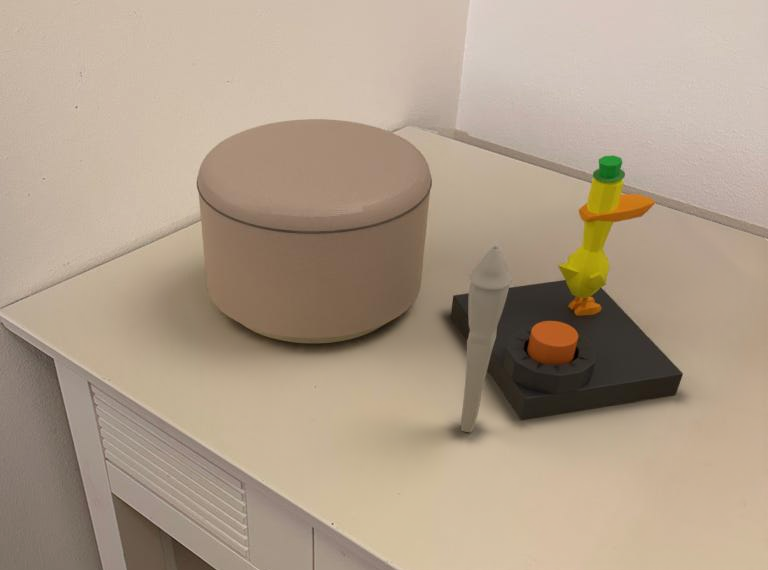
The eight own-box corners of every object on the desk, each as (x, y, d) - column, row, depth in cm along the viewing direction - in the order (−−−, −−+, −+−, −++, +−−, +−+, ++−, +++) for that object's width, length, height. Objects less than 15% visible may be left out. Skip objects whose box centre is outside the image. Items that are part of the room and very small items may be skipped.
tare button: (561, 338, 64) (565, 317, 63) (581, 363, 62) (586, 342, 61) (519, 344, 64) (523, 323, 62) (538, 370, 61) (543, 348, 60)
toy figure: (612, 290, 71) (652, 142, 63) (637, 313, 68) (681, 161, 60) (536, 304, 70) (566, 154, 62) (558, 328, 67) (592, 174, 59)
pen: (445, 436, 61) (469, 252, 51) (453, 413, 63) (478, 231, 53) (481, 444, 60) (513, 259, 51) (488, 421, 62) (521, 237, 53)
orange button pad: (586, 296, 74) (595, 258, 72) (676, 395, 64) (690, 355, 62) (449, 315, 72) (454, 277, 70) (520, 420, 62) (528, 380, 60)
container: (462, 287, 75) (480, 151, 67) (325, 383, 66) (327, 237, 58) (304, 224, 84) (303, 97, 76) (162, 299, 75) (145, 163, 67)
